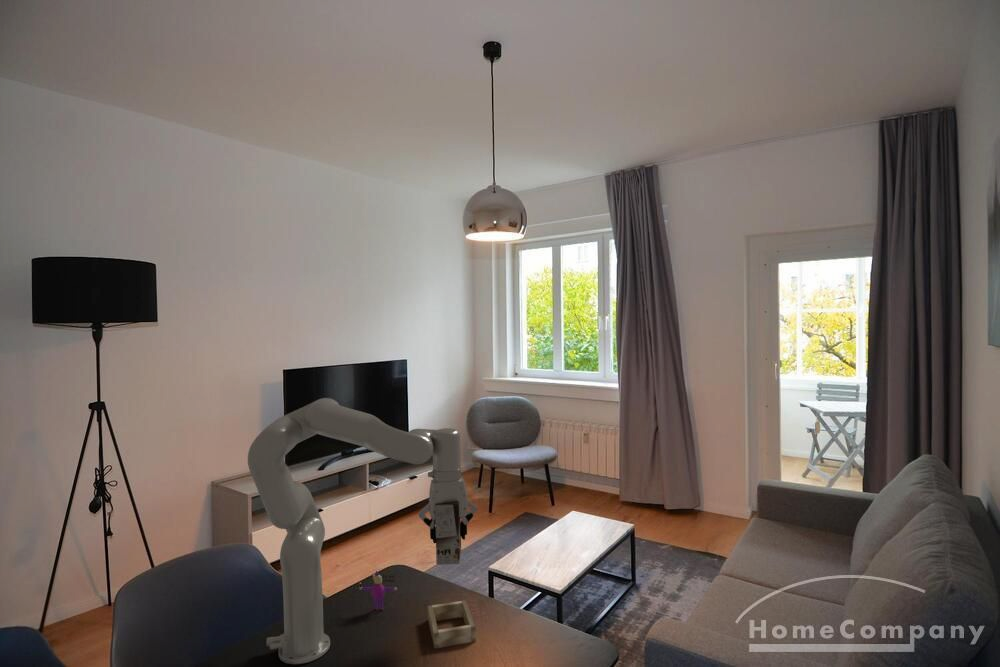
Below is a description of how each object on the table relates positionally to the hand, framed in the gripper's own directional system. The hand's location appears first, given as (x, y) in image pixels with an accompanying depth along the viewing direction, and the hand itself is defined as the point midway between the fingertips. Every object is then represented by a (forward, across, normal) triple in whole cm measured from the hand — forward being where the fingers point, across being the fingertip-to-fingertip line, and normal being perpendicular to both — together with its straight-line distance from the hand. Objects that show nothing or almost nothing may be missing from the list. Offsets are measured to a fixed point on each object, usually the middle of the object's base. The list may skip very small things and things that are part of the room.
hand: (448, 539), depth 146 cm
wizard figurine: (+25, -19, +16) cm, 35 cm away
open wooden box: (+25, 0, 0) cm, 25 cm away
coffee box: (+5, 0, 0) cm, 5 cm away
